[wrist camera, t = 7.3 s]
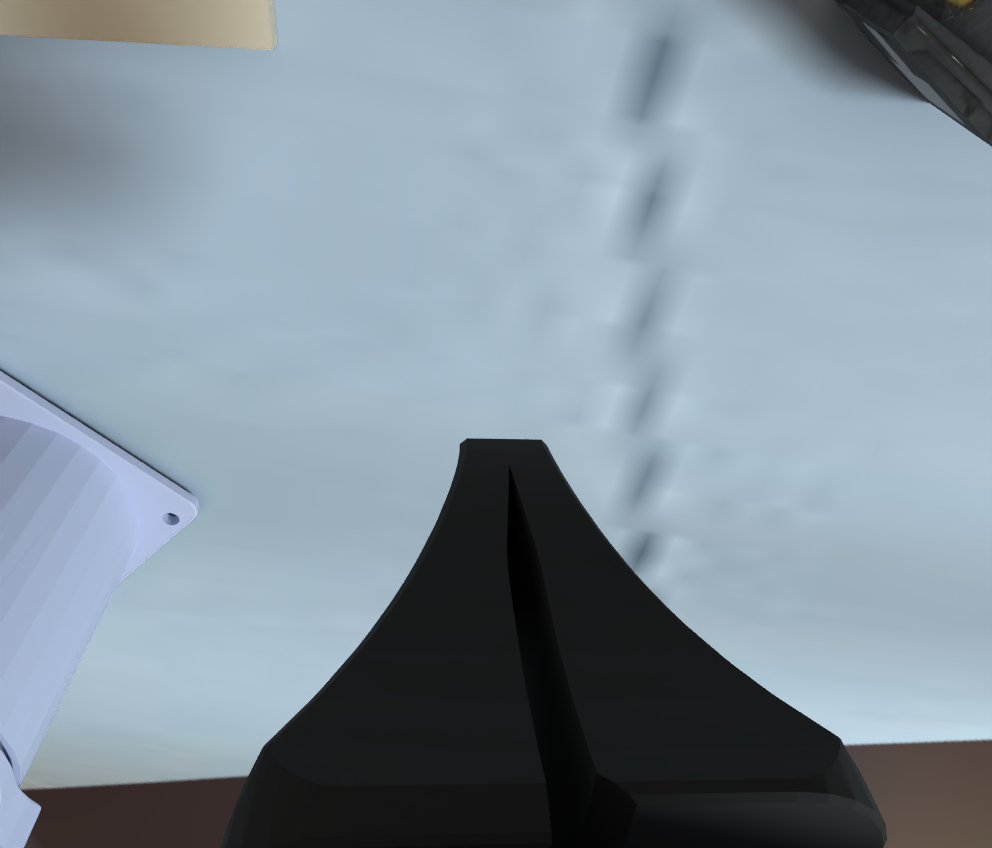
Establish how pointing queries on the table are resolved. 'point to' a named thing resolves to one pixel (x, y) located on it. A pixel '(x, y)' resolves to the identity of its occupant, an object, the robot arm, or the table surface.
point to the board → (145, 21)
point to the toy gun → (937, 51)
